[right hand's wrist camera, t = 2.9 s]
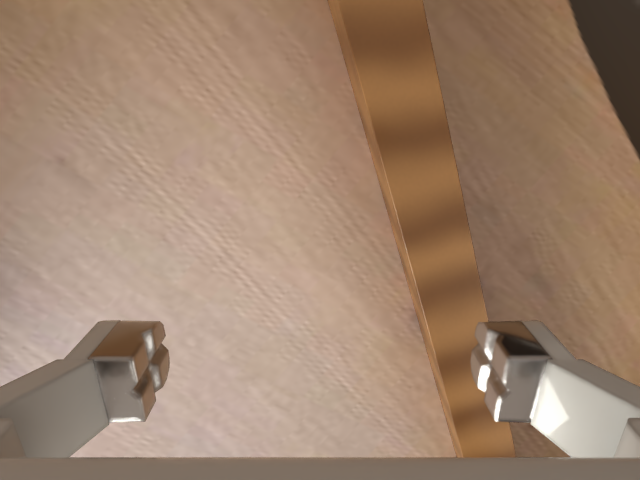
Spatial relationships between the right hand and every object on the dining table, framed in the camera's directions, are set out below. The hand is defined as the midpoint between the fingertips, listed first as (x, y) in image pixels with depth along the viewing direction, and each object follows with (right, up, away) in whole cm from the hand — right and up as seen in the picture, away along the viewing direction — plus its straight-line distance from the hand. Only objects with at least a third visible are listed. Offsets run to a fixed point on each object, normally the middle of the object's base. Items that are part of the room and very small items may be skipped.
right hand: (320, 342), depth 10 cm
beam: (+12, -5, +27) cm, 30 cm away
